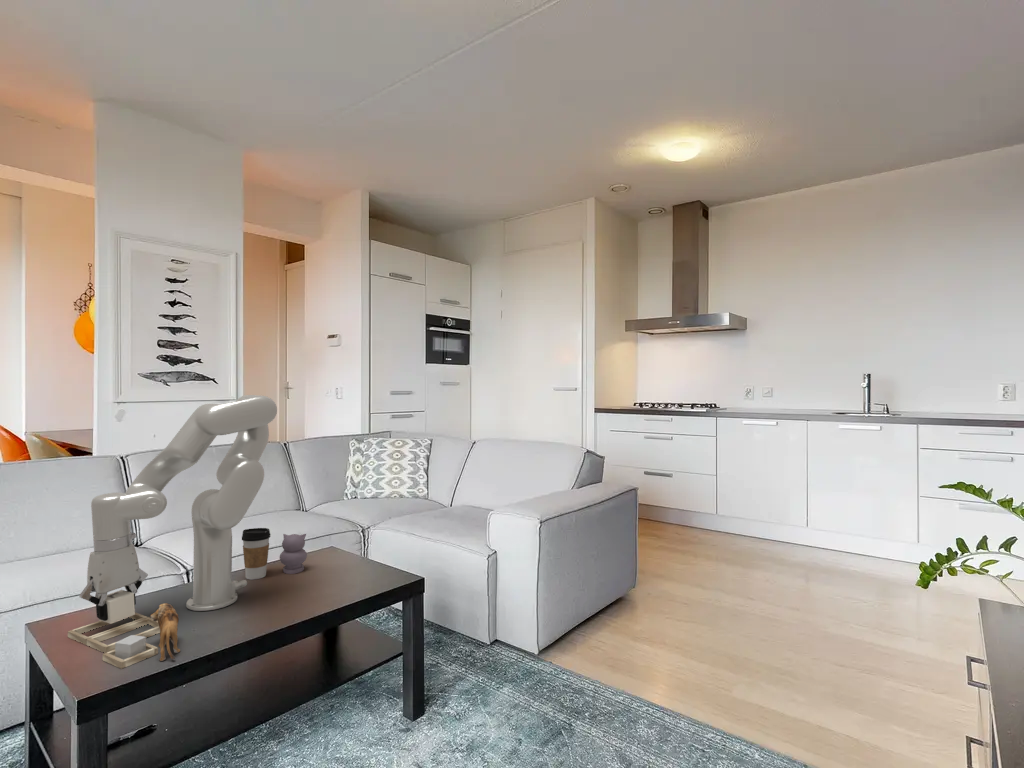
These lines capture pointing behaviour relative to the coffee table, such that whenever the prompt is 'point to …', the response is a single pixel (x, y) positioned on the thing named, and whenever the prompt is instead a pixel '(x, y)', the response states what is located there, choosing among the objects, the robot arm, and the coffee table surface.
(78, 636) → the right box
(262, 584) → the coffee table surface
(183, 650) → the coffee table surface
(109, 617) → the letter cube
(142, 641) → the grey block
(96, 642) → the middle box
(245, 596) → the coffee table surface
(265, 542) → the coffee cup
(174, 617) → the lion figurine
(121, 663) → the small box
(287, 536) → the cat figurine
